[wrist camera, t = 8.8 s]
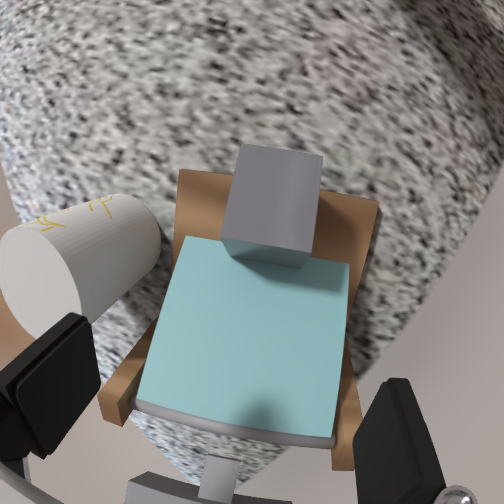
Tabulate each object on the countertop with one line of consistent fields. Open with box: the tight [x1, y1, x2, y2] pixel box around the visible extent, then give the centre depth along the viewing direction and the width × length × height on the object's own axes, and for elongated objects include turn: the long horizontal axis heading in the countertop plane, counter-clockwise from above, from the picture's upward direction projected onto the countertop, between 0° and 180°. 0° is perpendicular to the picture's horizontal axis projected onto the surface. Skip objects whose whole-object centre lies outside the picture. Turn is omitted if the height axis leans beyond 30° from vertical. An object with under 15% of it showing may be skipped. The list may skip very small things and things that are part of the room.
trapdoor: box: [124, 235, 349, 504], centre depth 18 cm, size 21×13×4 cm
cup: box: [0, 194, 161, 339], centre depth 21 cm, size 8×8×12 cm
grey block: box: [220, 144, 323, 269], centre depth 20 cm, size 5×5×6 cm
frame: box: [97, 169, 379, 471], centre depth 20 cm, size 16×16×14 cm
